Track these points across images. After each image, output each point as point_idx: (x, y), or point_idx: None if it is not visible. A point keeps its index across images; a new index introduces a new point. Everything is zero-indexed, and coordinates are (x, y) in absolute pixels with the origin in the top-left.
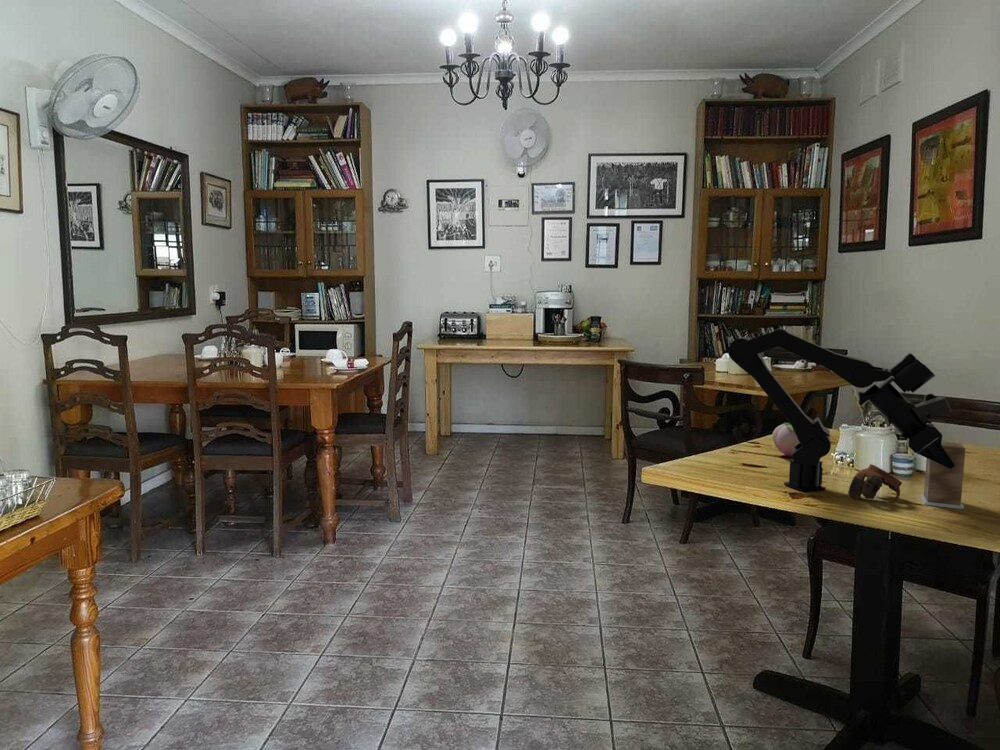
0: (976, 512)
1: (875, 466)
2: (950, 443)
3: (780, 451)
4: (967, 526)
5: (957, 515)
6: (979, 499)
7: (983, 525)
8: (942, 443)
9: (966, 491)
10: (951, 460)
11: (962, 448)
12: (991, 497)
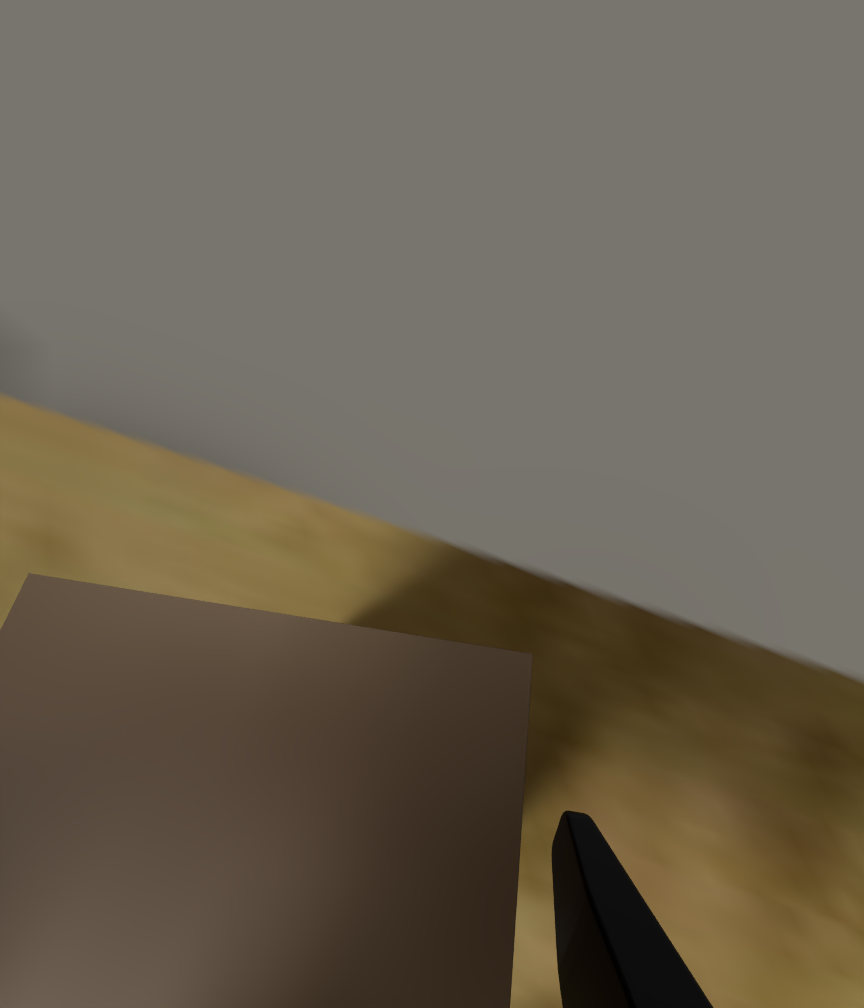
0: (512, 631)
1: None
2: (62, 784)
3: None
4: (845, 785)
5: (625, 768)
6: (225, 523)
7: (770, 684)
8: (70, 1001)
9: (53, 531)
10: (640, 895)
11: (526, 701)
12: (174, 452)
